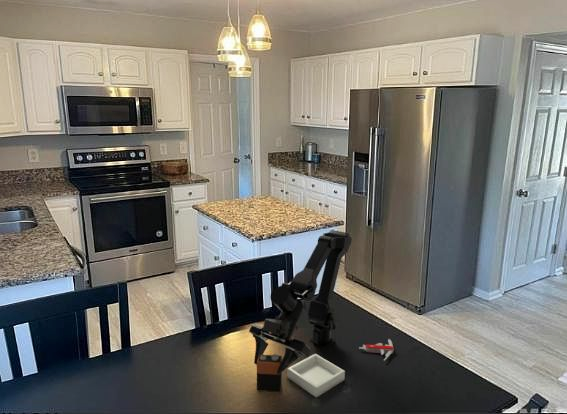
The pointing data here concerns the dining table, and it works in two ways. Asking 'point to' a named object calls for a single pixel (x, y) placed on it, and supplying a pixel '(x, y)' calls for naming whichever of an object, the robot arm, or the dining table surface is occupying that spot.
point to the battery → (269, 373)
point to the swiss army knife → (380, 348)
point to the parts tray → (315, 374)
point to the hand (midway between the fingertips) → (266, 368)
